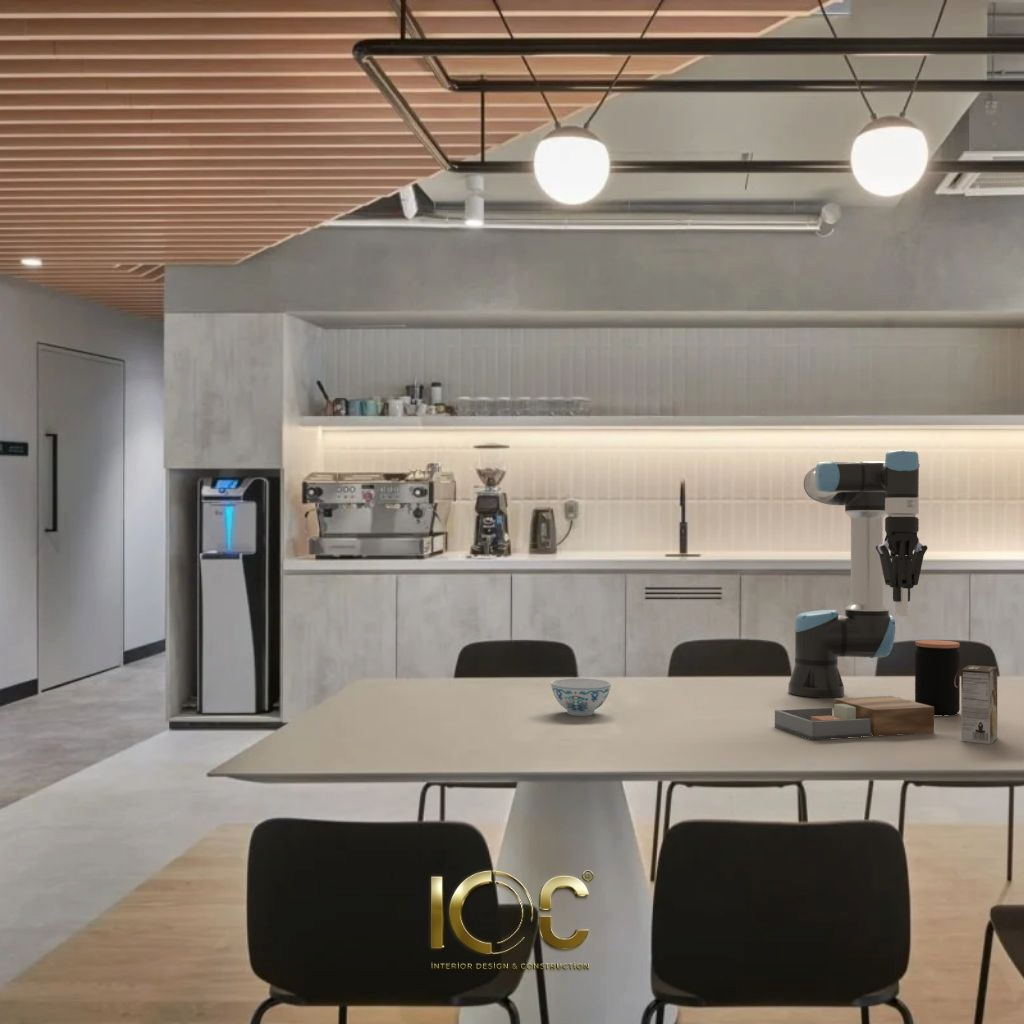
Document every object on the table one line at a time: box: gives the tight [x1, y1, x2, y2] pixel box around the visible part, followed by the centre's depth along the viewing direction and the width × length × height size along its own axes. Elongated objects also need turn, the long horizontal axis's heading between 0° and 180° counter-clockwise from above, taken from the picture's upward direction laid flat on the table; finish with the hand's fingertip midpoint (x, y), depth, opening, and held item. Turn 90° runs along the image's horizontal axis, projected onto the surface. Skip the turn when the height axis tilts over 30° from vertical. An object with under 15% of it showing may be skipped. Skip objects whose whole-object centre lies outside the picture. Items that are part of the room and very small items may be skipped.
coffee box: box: [960, 664, 998, 745], centre depth 244 cm, size 9×6×16 cm
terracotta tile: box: [811, 715, 842, 721], centre depth 252 cm, size 5×5×2 cm
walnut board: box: [833, 695, 935, 737], centre depth 257 cm, size 16×16×6 cm
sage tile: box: [833, 703, 856, 720], centre depth 254 cm, size 5×5×2 cm
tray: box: [774, 706, 873, 741], centre depth 252 cm, size 16×16×4 cm
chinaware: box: [550, 677, 612, 717], centre depth 275 cm, size 15×15×8 cm
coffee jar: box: [914, 639, 961, 717], centre depth 278 cm, size 11×11×18 cm
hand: (901, 615), depth 259 cm, fingers closed
